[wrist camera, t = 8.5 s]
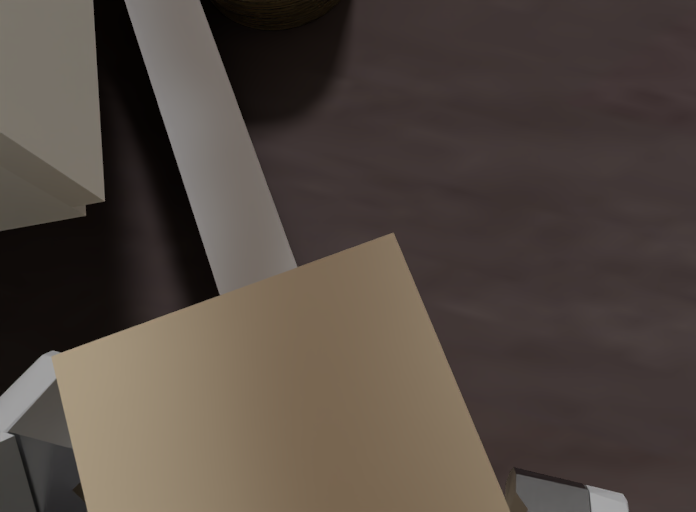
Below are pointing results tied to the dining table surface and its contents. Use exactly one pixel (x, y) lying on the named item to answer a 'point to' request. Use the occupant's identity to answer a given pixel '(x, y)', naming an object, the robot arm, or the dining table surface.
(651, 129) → the dining table surface
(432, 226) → the dining table surface
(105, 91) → the dining table surface
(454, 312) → the dining table surface
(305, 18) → the brass puck
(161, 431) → the wooden handled saw
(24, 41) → the cabinet
